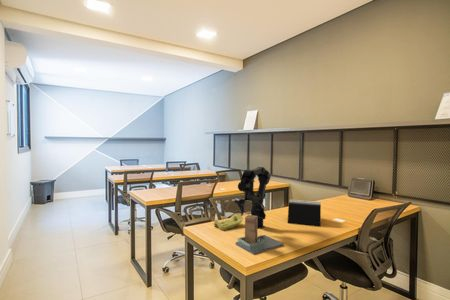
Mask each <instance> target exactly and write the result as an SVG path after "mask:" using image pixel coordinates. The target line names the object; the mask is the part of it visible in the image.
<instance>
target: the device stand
mask: <svg viewBox="0 0 450 300" xmlns="http://www.w3.org/2000/svg"><path fill="white" fill-rule="evenodd" d="M321 203H322V202H321V201H313V200H301V199H300V200H299V199H289V201H288V209H287V224H292V225H293V224H294V225H301V226H302V225H303V226H310V227H321V225H322V224H321V222H322V221H321V220H322V219H321V218H322V216H321V213H322V211H321V209H322V208H321V205H322V204H321Z"/></svg>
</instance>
